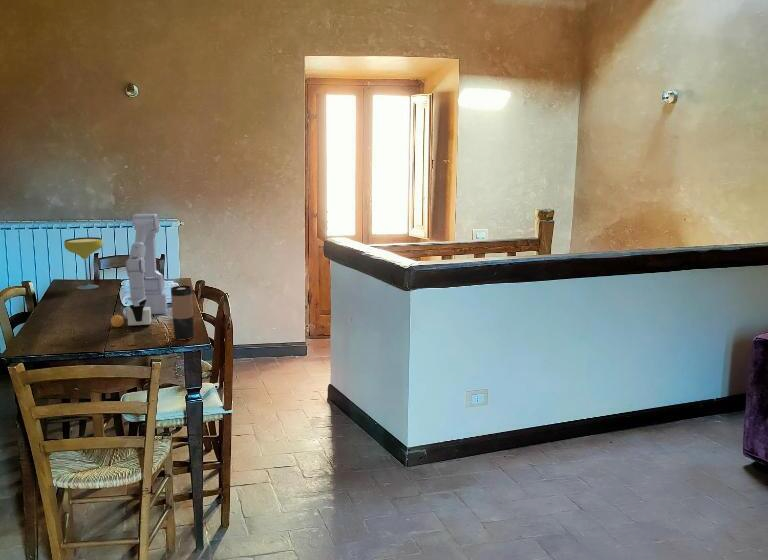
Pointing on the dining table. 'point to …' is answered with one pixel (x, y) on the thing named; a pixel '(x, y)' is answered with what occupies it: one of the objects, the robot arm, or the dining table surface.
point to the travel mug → (182, 312)
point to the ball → (117, 321)
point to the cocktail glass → (84, 252)
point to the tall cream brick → (145, 317)
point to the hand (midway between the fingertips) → (139, 319)
